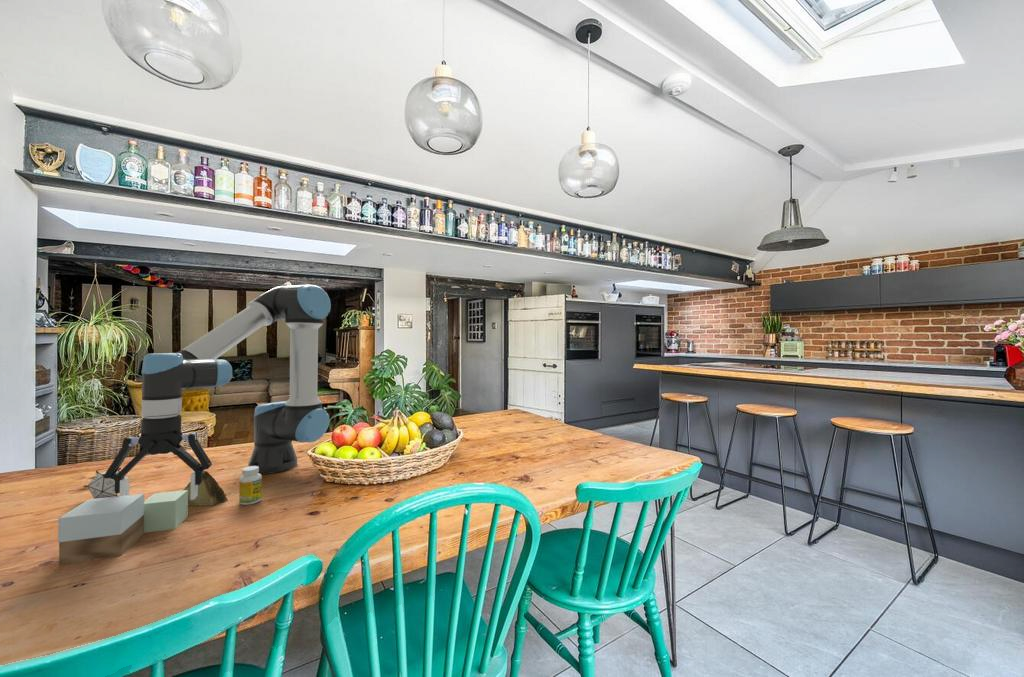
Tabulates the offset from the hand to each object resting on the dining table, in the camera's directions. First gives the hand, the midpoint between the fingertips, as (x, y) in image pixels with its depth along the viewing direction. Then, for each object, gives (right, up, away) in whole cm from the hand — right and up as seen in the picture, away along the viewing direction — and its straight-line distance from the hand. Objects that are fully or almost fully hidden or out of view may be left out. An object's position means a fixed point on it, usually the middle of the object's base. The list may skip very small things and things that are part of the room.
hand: (160, 501), depth 99 cm
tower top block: (-3, -2, -10) cm, 11 cm away
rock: (-1, -6, +14) cm, 16 cm away
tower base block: (-4, -7, -10) cm, 12 cm away
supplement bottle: (+12, -6, +15) cm, 21 cm away
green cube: (0, -6, +1) cm, 6 cm away
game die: (-30, -6, +17) cm, 35 cm away
